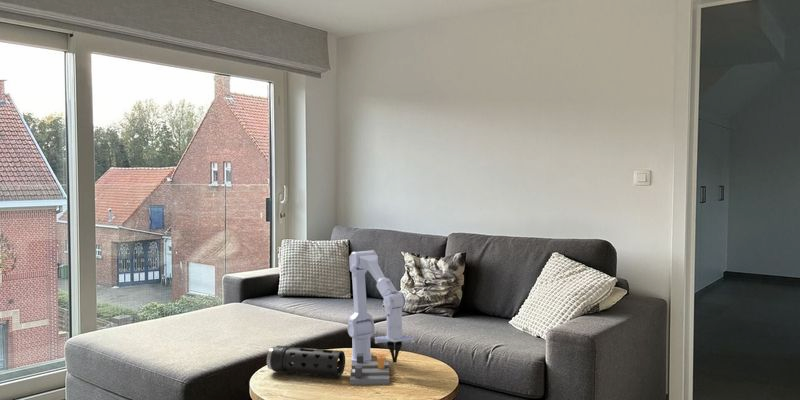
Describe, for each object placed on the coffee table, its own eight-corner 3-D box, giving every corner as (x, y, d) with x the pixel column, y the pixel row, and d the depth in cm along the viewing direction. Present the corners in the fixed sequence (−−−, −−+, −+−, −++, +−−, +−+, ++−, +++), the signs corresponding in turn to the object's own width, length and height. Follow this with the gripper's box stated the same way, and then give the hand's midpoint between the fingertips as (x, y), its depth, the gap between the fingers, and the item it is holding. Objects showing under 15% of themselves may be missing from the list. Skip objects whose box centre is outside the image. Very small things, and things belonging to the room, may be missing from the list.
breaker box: (352, 366, 235) (352, 352, 235) (388, 366, 235) (388, 352, 235) (350, 384, 215) (349, 369, 215) (389, 384, 215) (389, 369, 215)
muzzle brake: (336, 382, 218) (336, 354, 217) (265, 376, 225) (265, 349, 224) (345, 374, 227) (345, 346, 226) (277, 368, 234) (276, 342, 233)
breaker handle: (377, 367, 227) (377, 354, 227) (385, 367, 227) (385, 353, 227) (377, 371, 223) (376, 357, 223) (385, 370, 223) (385, 357, 223)
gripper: (374, 328, 220) (375, 365, 221) (414, 328, 221) (414, 364, 221) (374, 323, 227) (375, 359, 228) (413, 323, 228) (413, 358, 229)
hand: (394, 361), depth 225 cm, fingers closed
